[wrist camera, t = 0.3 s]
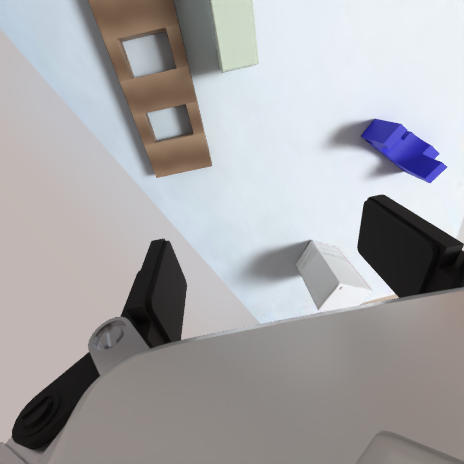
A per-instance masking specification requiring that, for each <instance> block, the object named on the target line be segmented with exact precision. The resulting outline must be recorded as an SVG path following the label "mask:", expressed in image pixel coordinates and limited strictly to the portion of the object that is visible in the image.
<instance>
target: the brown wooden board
mask: <svg viewBox="0 0 464 464" xmlns="http://www.w3.org/2000/svg"><path fill="white" fill-rule="evenodd" d="M88 1H89V4H90V6H91V9H92V11H93V14H94V17H95V19H96V22H97V24H98V27H99V30H100V32H101V35H102V37H103V40H104V43H105V45H106V48H107V50H108V53H109V56H110V58H111V61H112V63H113V66H114V69H115V71H116V74H117V76H118V79H119V82H120V84H121V87H122V89H123V92H124V95H125V97H126V100H127V102H128V105H129V108H130V110H131V113H132V115H133V118H134V121H135V123H136V126H137V128H138V131H139V134H140V136H141V139H142V141H143V144H144V147H145V149H146V152H147V154H148V157H149V159H150V162H151V165H152V167H153V170H154V172H155V175H156V178H158V177H163V176H168V175H172V174H177V173H182V172H186V171H191V170H196V169H201V168H205V167H210V166H212V162H211V157H210V153H209V149H208V145H207V140H206V136H205V132H204V128H203V123H202V119H201V115H200V111H199V107H198V102H197V98H196V94H195V90H194V85H193V81H192V77H191V73H190V68H189V64H188V60H187V56H186V51H185V47H184V43H183V39H182V35H181V30H180V26H179V22H178V18H177V13H176V9H175V5H174V1H173V0H88ZM165 31H167V34H168V38H169V42H170V46H171V50H172V53H173V57H174V61H175V65H176V69H173V70H168V71H164V72H160V73H155V74H151V75H146V76H142V77H138V78H134V75H133V72H132V69H131V66H130V63H129V61H128V58H127V55H126V52H125V49H124V46H123V44H122V42H123V41H127V40H131V39H135V38H140V37H144V36H148V35H152V34H157V33H161V32H165ZM184 104H186V107H187V111H188V114H189V118H190V122H191V126H192V130H193V133H190V134H185V135H181V136H176V137H172V138H167V139H162V140H158V141H157V140H156V137H155V135H154V132H153V129H152V126H151V123H150V120H149V117H148V115H147V113H148V112H152V111H157V110H161V109H166V108H170V107H175V106H179V105H184Z"/></svg>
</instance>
